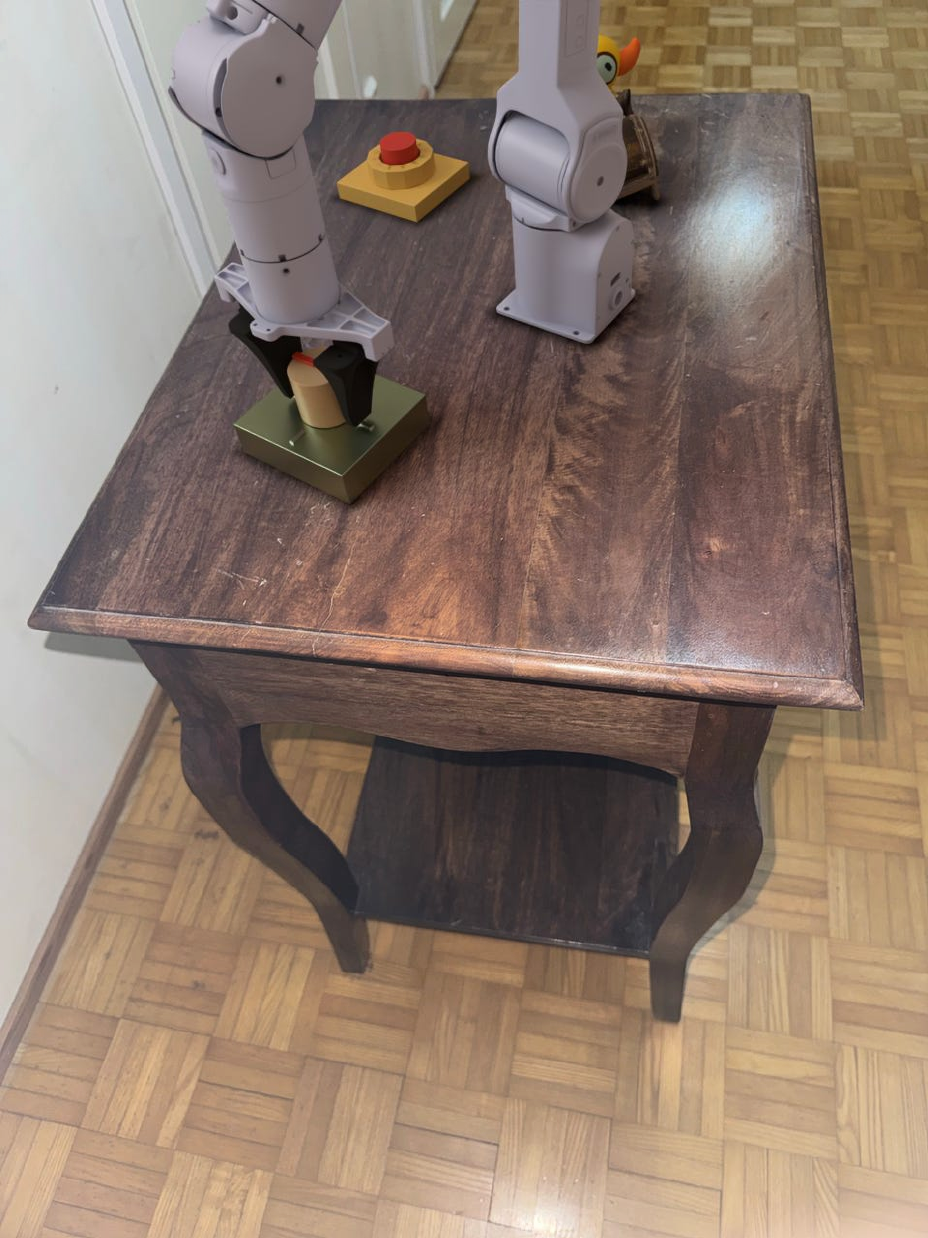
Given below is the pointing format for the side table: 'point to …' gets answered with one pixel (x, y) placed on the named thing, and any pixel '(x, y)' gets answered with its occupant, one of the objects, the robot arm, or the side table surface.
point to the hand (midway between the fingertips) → (327, 403)
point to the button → (398, 148)
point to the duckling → (615, 59)
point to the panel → (334, 439)
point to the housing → (404, 183)
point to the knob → (313, 391)
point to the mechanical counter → (639, 158)
